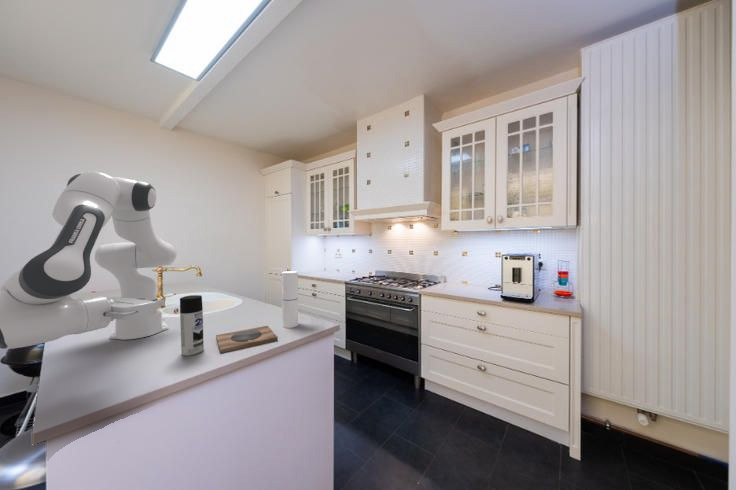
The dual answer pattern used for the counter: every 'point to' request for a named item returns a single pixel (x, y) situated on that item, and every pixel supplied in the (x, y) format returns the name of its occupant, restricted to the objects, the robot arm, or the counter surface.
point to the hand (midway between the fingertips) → (153, 301)
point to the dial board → (245, 338)
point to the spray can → (191, 325)
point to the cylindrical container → (289, 299)
